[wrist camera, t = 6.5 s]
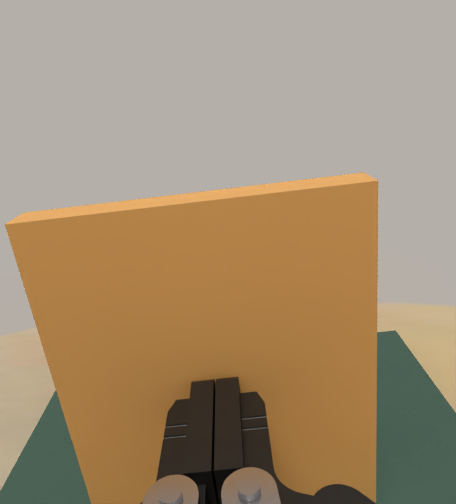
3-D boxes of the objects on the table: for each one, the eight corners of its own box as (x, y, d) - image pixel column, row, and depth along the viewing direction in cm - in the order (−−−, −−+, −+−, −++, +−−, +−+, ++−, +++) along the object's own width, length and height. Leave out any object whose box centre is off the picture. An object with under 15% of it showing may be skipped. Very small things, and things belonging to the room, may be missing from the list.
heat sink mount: (-67, 653, 14) (-226, 378, 10) (73, 379, 27) (25, 216, 23) (567, 594, 13) (641, 283, 10) (395, 344, 26) (399, 172, 23)
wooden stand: (100, 531, 16) (4, 224, 12) (146, 361, 26) (103, 163, 21) (376, 504, 15) (377, 180, 11) (315, 343, 25) (304, 138, 21)
